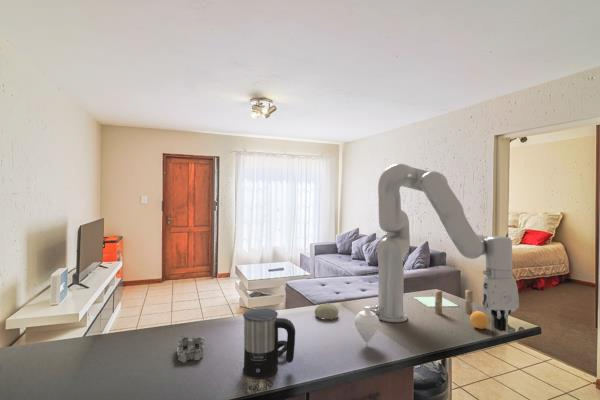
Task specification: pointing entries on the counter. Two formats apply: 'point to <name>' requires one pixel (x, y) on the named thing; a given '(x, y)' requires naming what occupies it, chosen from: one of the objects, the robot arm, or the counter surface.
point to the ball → (479, 320)
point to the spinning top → (367, 324)
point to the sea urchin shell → (326, 311)
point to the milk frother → (265, 342)
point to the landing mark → (431, 302)
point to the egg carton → (190, 348)
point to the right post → (468, 301)
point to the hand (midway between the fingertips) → (500, 329)
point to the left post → (438, 302)
